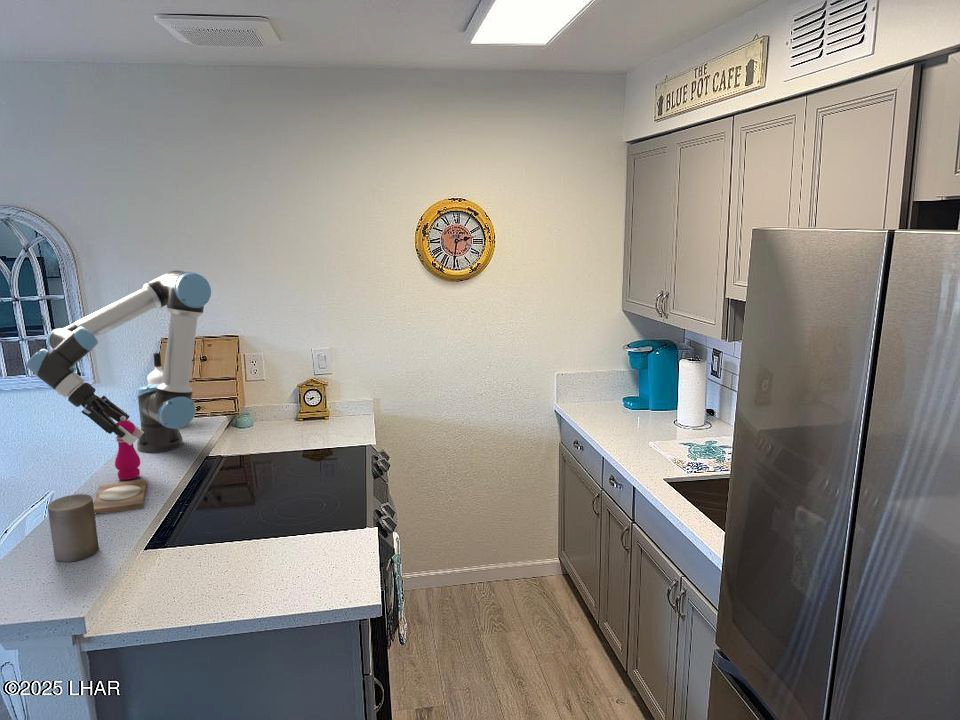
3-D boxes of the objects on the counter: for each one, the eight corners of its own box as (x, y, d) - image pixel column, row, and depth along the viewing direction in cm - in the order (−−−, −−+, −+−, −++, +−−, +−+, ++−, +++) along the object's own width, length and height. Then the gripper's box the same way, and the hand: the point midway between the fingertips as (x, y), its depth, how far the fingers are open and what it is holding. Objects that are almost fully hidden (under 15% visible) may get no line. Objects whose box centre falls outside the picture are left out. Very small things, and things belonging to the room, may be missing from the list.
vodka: (151, 424, 276) (144, 351, 270) (176, 422, 279) (170, 350, 273) (149, 430, 267) (142, 355, 261) (175, 428, 271) (169, 354, 265)
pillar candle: (101, 541, 176) (94, 486, 173) (96, 558, 167) (88, 501, 164) (58, 548, 172) (50, 492, 169) (50, 565, 163) (41, 507, 160)
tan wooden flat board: (100, 489, 210) (99, 483, 209) (146, 483, 214) (146, 477, 214) (91, 514, 191) (90, 508, 191) (142, 507, 196) (142, 501, 196)
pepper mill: (131, 481, 214) (124, 420, 210) (111, 479, 216) (104, 418, 212) (146, 473, 221) (140, 413, 217) (127, 471, 223) (120, 412, 219)
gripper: (81, 391, 220) (139, 437, 226) (53, 407, 202) (117, 457, 208) (97, 374, 220) (155, 421, 226) (70, 389, 202) (134, 440, 207)
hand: (137, 438), depth 217 cm, fingers closed on pepper mill, 6 cm apart
